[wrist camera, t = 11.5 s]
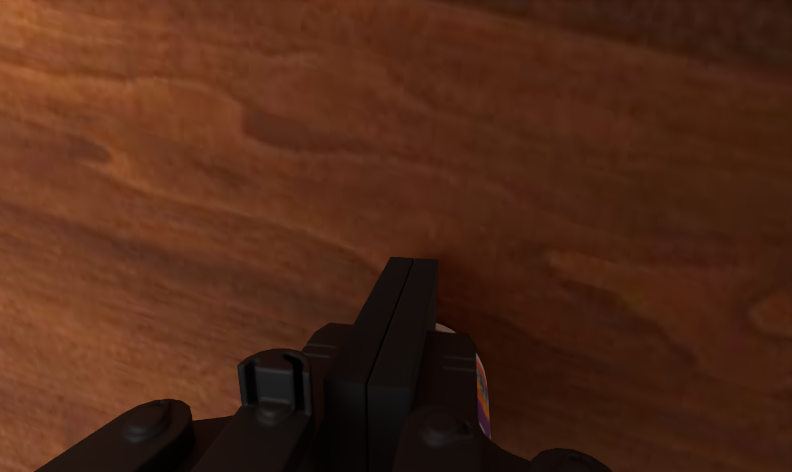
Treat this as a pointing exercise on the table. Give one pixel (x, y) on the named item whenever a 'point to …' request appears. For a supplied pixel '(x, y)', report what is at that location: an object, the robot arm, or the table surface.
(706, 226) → the table surface
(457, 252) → the table surface
